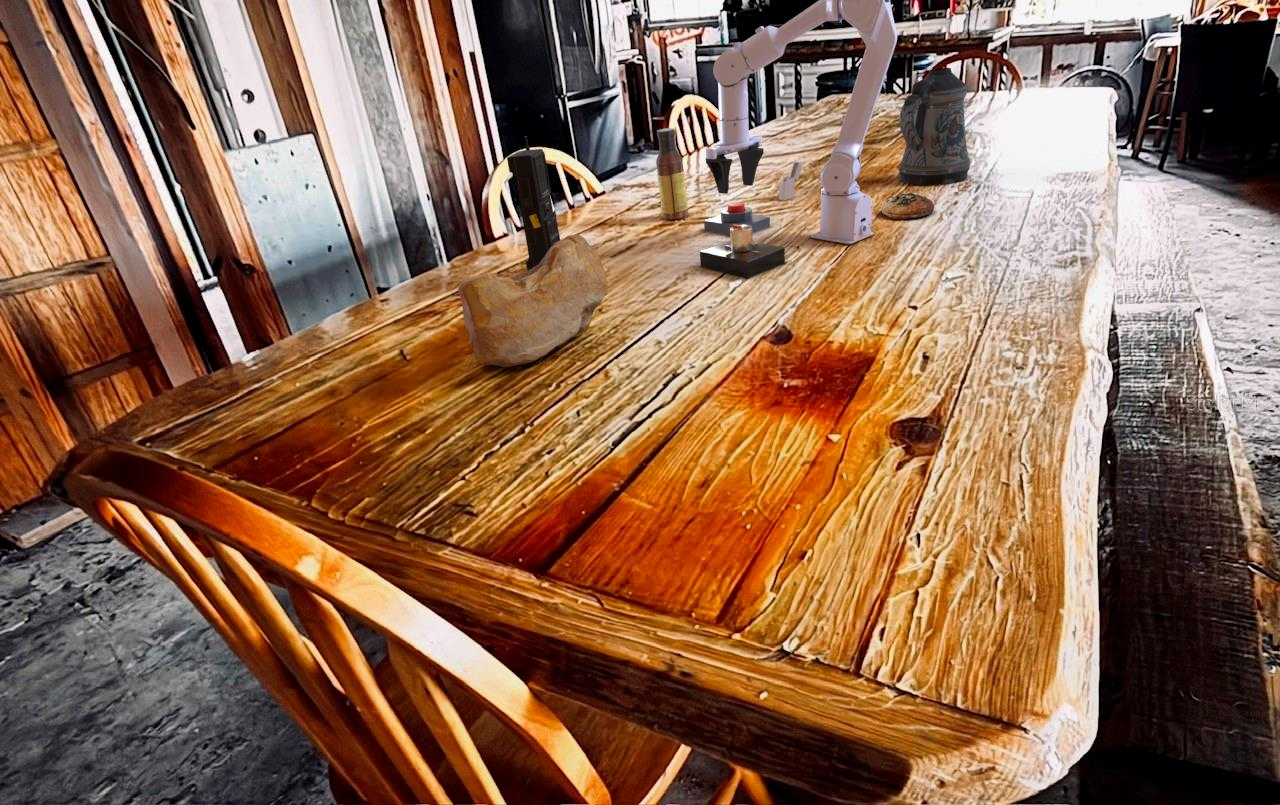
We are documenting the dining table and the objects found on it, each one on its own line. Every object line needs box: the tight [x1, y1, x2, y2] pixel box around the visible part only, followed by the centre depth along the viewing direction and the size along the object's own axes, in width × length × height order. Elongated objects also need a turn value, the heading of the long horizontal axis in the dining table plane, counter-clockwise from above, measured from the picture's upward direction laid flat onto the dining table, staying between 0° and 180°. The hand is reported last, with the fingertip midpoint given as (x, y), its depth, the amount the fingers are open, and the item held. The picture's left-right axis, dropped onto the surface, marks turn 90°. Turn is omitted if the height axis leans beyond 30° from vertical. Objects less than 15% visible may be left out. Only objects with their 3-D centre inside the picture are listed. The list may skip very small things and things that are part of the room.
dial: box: [729, 224, 754, 252], centre depth 129 cm, size 4×4×4 cm
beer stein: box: [898, 67, 971, 186], centre depth 170 cm, size 16×19×25 cm
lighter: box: [778, 161, 803, 202], centre depth 172 cm, size 7×2×8 cm, turn 130°
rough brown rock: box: [457, 234, 609, 368], centre depth 105 cm, size 23×17×15 cm
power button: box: [727, 201, 746, 213], centre depth 151 cm, size 4×4×2 cm
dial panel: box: [699, 240, 786, 279], centre depth 130 cm, size 12×10×3 cm
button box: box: [703, 206, 771, 236], centre depth 152 cm, size 11×9×4 cm
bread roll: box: [880, 192, 935, 221], centre depth 150 cm, size 11×11×5 cm
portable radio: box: [506, 135, 561, 271], centre depth 134 cm, size 8×6×25 cm
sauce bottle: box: [655, 127, 689, 221], centre depth 163 cm, size 7×6×20 cm
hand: (735, 189), depth 145 cm, fingers open, 7 cm apart
